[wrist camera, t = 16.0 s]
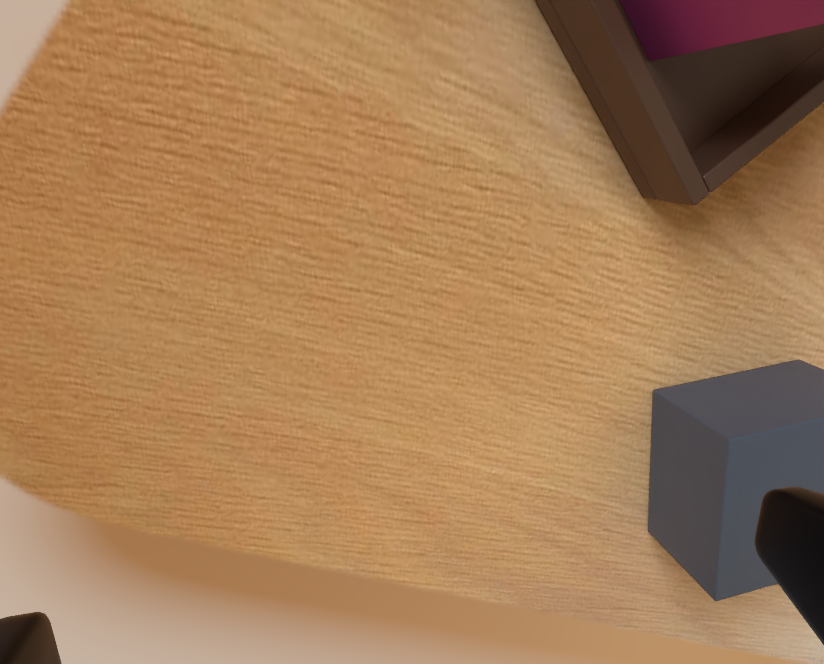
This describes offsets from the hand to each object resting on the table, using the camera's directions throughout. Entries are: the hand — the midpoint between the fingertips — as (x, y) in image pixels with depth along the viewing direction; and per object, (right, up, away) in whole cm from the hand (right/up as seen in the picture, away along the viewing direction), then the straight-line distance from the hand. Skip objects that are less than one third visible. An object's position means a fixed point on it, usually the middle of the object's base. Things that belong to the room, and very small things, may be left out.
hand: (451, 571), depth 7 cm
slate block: (+12, -2, +16) cm, 20 cm away
